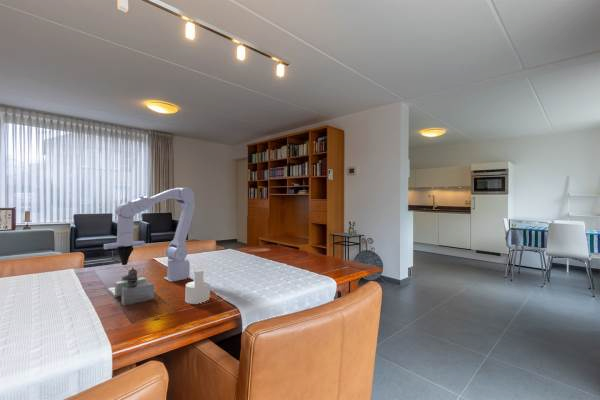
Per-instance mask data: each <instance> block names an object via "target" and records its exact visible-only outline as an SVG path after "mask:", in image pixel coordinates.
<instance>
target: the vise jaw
mask: <svg viewBox="0 0 600 400" xmlns="http://www.w3.org/2000/svg"><path fill="white" fill-rule="evenodd" d="M137 278H138V280H137V285H138V284H144V283H147V278H145V277H144V276H142V277H137ZM127 279H128V274H127V275H122V277H121V280H119V281H114V287H115V294H116V295H117V296H118V295H122V287H127V286H128V281H127ZM118 297H119V296H118Z"/></svg>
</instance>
